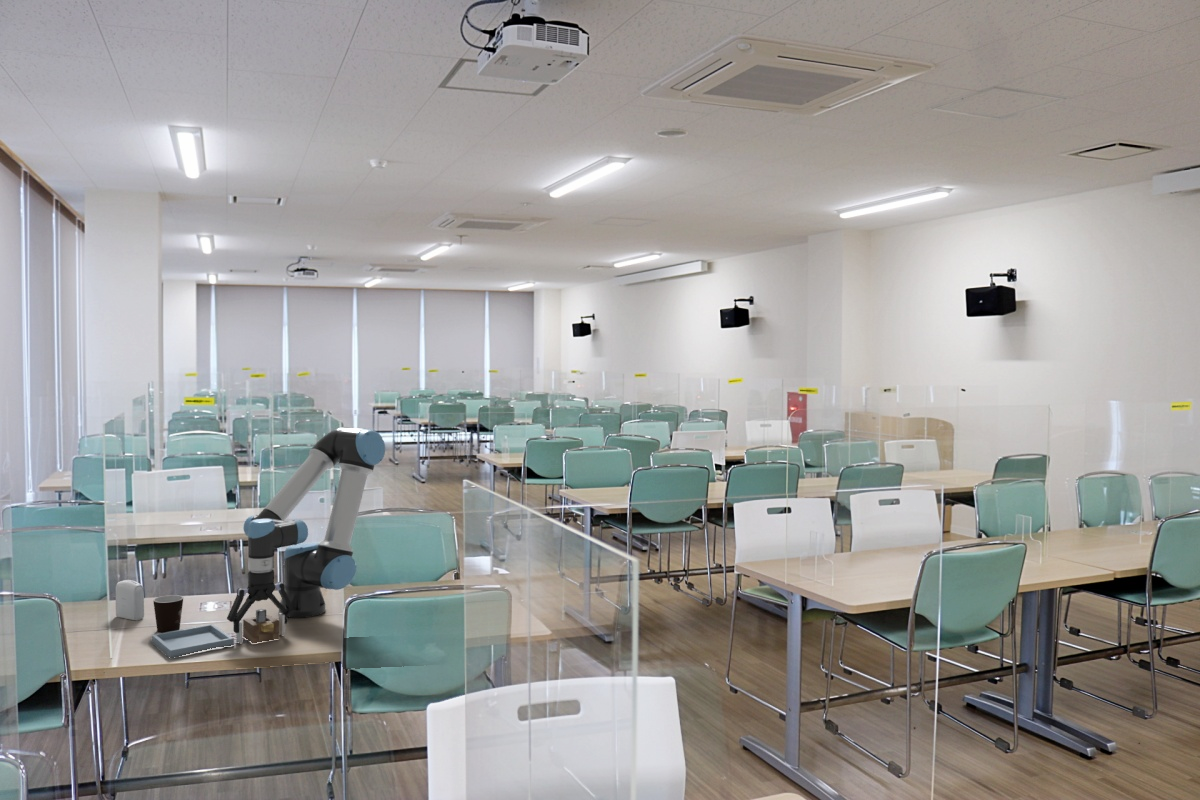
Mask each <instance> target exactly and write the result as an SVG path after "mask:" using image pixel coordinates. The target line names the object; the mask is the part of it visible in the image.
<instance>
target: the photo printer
mask: <svg viewBox="0 0 1200 800" xmlns="http://www.w3.org/2000/svg"><path fill="white" fill-rule="evenodd" d="M114 588H115V616H116V617H117V618H121V619H126V620H130V621H140V620H142V619H143V618H144V617H145V595H144V593H145V591H144V586H143V585H142V584H141V583H139V582H137V581H135V580H133V579H132V580H131V579H125V580H124V579H123V580H121V581H118V582H117V583H116V584H115V587H114Z"/></svg>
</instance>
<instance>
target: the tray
mask: <svg viewBox="0 0 1200 800" xmlns="http://www.w3.org/2000/svg"><path fill="white" fill-rule="evenodd" d="M151 644H153V645H154V647H156V648H157V649H158V650H159V651H160V652H161V653H163V654H164V655H165V654H166V655H167V656H166V655H165V656H166V657H168V658H169V657H170V658H173V659H175V658H174V657H178V658H180V657H179V656H182V655H186V654H190V653H194V652H198V651H202V650H207V649H210V648H211V649H212V648H216V647H224V646H231V645H234V646H235V638H234V637H232V636H231V635H230V634H228V633H227V632H225V631H224V630H222V629H221V628H219V627H218V626H217V625H215V624H213V623H211V624H205V625H199V626H195V627H189V628H183V629H179V630H176V631H171V632H165V633H159V632H158V633H156V634H151ZM170 658H169V659H170Z"/></svg>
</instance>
